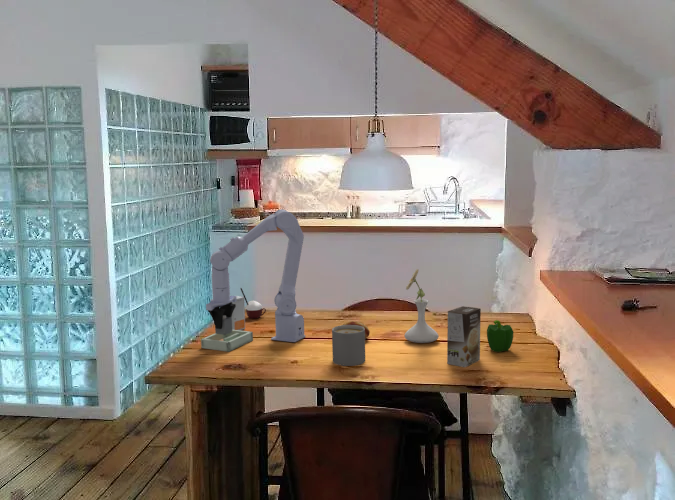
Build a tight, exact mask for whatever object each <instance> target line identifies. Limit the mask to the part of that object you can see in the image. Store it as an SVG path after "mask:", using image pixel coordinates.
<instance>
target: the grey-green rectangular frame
mask: <svg viewBox="0 0 675 500" xmlns="http://www.w3.org/2000/svg"><path fill="white" fill-rule="evenodd" d="M253 336H254V334H253V331H247V330H232V332H231V333H228V334H226V335H223V334H215V333H213V334H211V335H210V334H209V335H208V336H206V337H202V338H200V344H201V347H200V348H201V349H205V350H214V351H221V352H228V353H229V352H231V351H233V350H236V349H237V348H240V347H242V346H245V345H246V344H248V343H251V342H252V341H254V337H253Z"/></svg>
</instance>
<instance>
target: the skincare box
mask: <svg viewBox="0 0 675 500" xmlns="http://www.w3.org/2000/svg"><path fill="white" fill-rule="evenodd" d="M235 296H236V300H237V301H236V302H232V304H236V307H235V309H234V311H233V313H232V330H240V331H244V330H245V329H246V315H245V313H246V305H245V298H244V296H241V295H240V296H239V295H235Z"/></svg>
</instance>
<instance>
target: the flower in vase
mask: <svg viewBox="0 0 675 500" xmlns="http://www.w3.org/2000/svg"><path fill="white" fill-rule="evenodd" d="M418 274H419V268H416V269H415V271H414V272H413V273H412V277H411V278H410V279H409V280H408V284H407V285H406V287H405V290H407V291H408V290H409V289H410V288H411V287H412V285H413V283H415V284H416V285H417V287H418V291H417V292H416V293H417V297H416V299H414V300H413V302H414V304H415V305H416V308H417V321H416V323H415V324H414V325H413V326H411V327H410V328H409V329H408V330H407V331H406V332H405V333H404V338H405V340H407V341H408V342H412V343H415V344H417V343H418V344H419V343H420V344H425V343H426V344H427V343H431V342H434V341H437V340H438V339H439V337H440V336H439V334H438V332H437V331H436V330H435V329H433V327H431V326H430V325H428V323H427V322H426V317H425V316H426V308H427V304H428V303H429V302H430V301H429V300H428V299H425V298H423V297H425V296H426V294H425V292H424V290H423V289H422V288H421V287H420V285H419V283H418V281H417V276H418ZM419 297H420V298H419Z"/></svg>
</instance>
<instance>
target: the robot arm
mask: <svg viewBox="0 0 675 500" xmlns="http://www.w3.org/2000/svg"><path fill="white" fill-rule="evenodd" d="M278 229H280V230H281V231H282V232H283V233H284V235H285V236H286V237H287V238H288V242H287V247H286V248H287V249H286V253H285V261H284V264H283V265H284V266H283V271H282V277H281V281H280V282H281V283H280V285H279V287H278V292H277V293H276V295H275V296H274V300H273V301H274V302H273V303H274V305H275V306H276V310H275V311H274V317H275V318H274V319H275V321H274V323H275V325H274V326H275V336H273V337H271V338H270V340H271V341H272V340H273V341H280V342H286V343H287V342H288V343H297V342H298V341H300V340H302V339H304V338H305V337H306V335H305V317H304V315H302V314H299V313H297V310H296V309H297V301H296V284H297V280H298V279H297V278H298V272H299V267H300V260H301V255H302V249H303V244H304V237H305V235H304V232H303V230H302V228H301V226H300V223H299V220H298V219H297V217H296V216H295V215H294V214H293V213H292V212H290V211H288V210H286V209H282V208H281V209H278V210H276V211H275V212H274V213H271V214H270V215H268V216H267V217H265V218H264V219H263V220H261V221H260V222H259V223H258V224H257V225H255V226H254V227H253V228H252V229H250V230H249V231H248V232H247V233H245V234H244V235H242V236H238V235H237V236H235V237H232V236H231V238H230V241H229V242H227V243H226V244H225V245H224V246H219V248H218V250H216V251H214V252H213V253H212V254H211V256H210V259H209V262H210V264H211V265H212V266H211V289H212V291H211V292H212V299H210V302H208V303H206V304H205V310H206V311H208V313H209V314H210V317H211V318H212V321H213V324H214V329H215V328H216V329H222V319H223V315H226V317H232V313H233V311H234V309H235V307H236V304H232V302H236V301H237V300H236V296H237V295H231V290H230V289H231V287H230V273H229V266H230V262H234V261H235V260H236V259H238V258H239V257H241V256H242V255H243V254H244V253H245V252H247V251H248V247H249V245H250V244H252V242H254V241H255V240H257V239H258V238H260V237H261V236H263V235H264V234H266V233H267V232H270V231H277V230H278Z"/></svg>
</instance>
